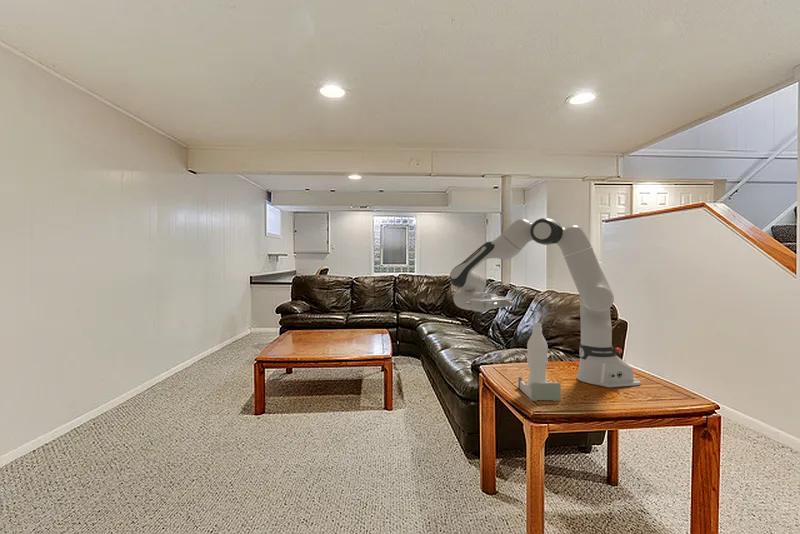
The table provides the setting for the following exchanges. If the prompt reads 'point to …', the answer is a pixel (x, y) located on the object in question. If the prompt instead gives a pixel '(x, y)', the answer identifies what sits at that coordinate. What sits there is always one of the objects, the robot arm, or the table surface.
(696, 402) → the table surface
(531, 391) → the bay
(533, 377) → the water bottle
